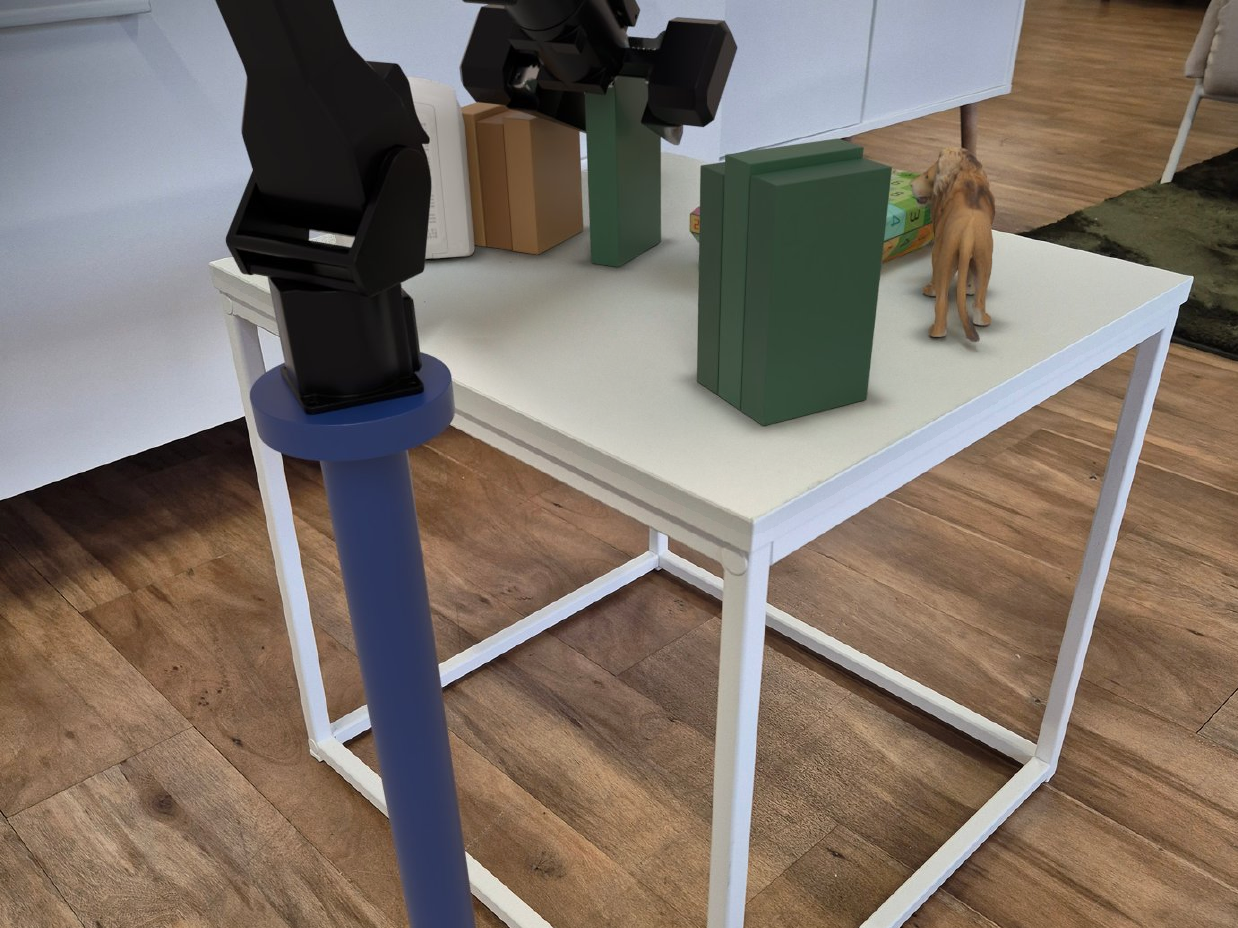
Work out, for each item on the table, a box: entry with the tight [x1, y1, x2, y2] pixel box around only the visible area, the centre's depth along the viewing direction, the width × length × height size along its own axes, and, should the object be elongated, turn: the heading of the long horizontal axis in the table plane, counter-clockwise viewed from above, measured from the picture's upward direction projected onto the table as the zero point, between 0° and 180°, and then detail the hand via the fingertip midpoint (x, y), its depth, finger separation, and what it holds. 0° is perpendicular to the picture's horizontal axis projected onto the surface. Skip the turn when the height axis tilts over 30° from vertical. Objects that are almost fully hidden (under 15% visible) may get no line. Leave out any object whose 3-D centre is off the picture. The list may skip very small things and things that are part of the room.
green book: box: [585, 76, 662, 268], centre depth 84 cm, size 7×2×13 cm, turn 153°
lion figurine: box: [909, 146, 996, 343], centre depth 74 cm, size 15×5×9 cm, turn 179°
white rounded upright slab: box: [334, 75, 476, 260], centre depth 84 cm, size 10×4×12 cm, turn 103°
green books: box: [696, 138, 893, 427], centre depth 62 cm, size 7×7×13 cm
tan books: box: [460, 102, 584, 256], centre depth 88 cm, size 7×7×10 cm
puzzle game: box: [689, 168, 935, 264], centre depth 86 cm, size 12×5×20 cm
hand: (636, 134), depth 84 cm, fingers open, 7 cm apart
